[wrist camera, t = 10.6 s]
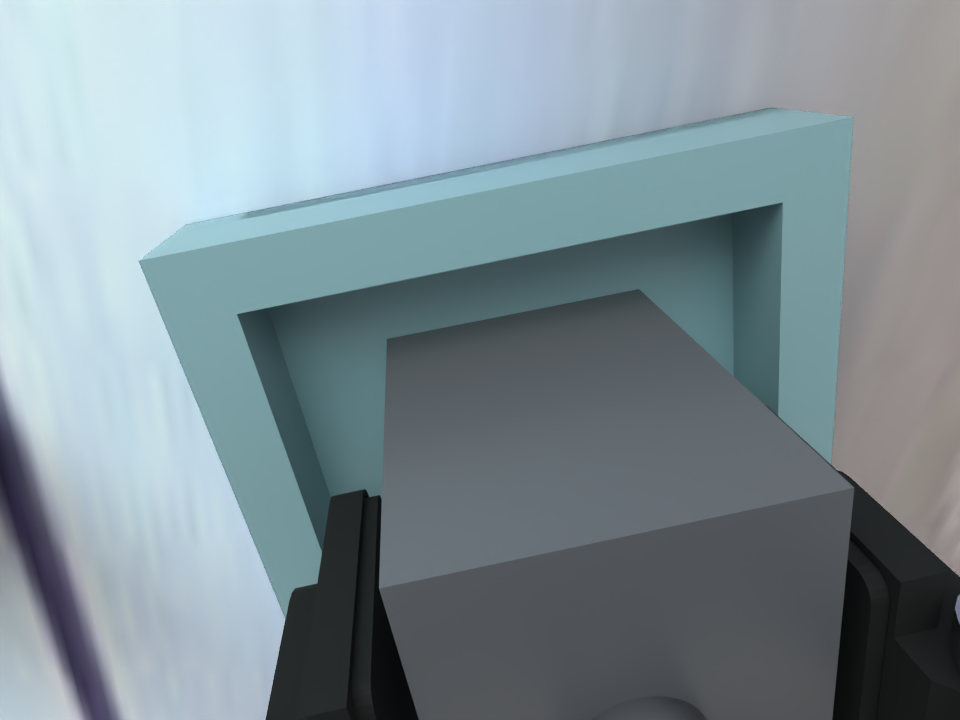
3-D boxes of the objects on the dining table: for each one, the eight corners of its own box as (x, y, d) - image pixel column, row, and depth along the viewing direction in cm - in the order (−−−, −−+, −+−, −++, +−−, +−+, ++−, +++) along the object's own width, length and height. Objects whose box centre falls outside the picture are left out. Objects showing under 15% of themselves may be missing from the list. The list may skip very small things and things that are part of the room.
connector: (639, 288, 12) (985, 607, 5) (655, 551, 14) (898, 1004, 7) (386, 338, 11) (374, 742, 5) (449, 595, 14) (502, 1100, 7)
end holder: (772, 108, 11) (853, 117, 9) (765, 590, 16) (818, 665, 14) (185, 224, 11) (138, 260, 9) (354, 681, 15) (348, 773, 13)
